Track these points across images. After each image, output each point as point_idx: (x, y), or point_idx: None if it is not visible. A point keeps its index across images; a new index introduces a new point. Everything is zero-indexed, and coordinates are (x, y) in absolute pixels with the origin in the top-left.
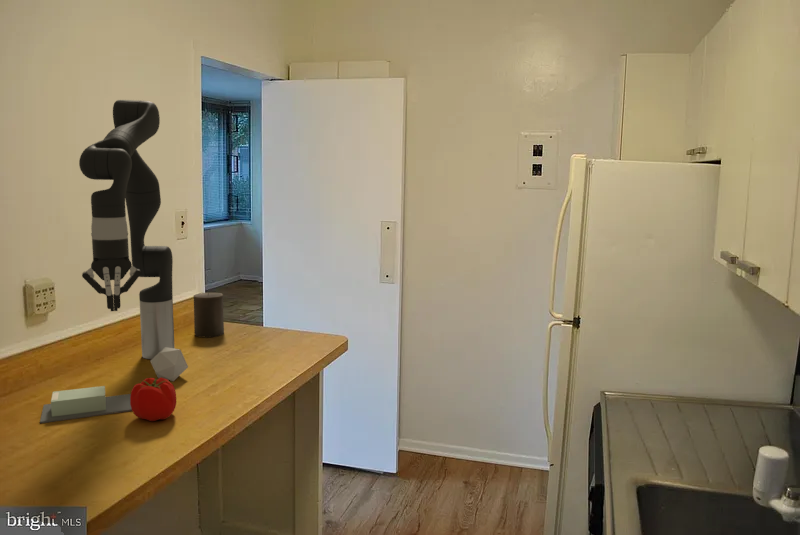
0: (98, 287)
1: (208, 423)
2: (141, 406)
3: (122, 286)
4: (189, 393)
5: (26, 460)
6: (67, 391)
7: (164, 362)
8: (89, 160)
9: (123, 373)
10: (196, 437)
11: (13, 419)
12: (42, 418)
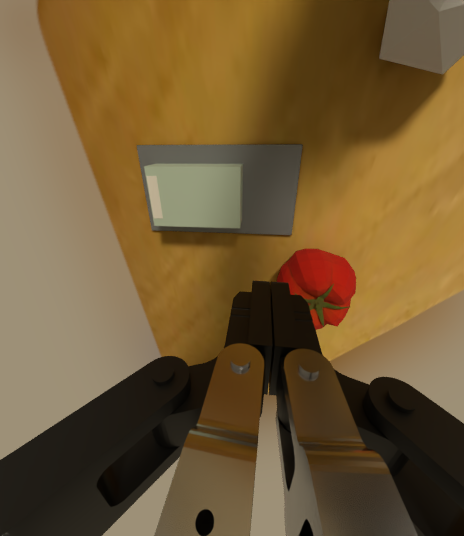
0: (151, 465)
1: (366, 319)
2: None
3: (374, 436)
4: (403, 182)
5: (165, 325)
6: (171, 176)
7: (422, 50)
8: None
9: None
10: (336, 346)
11: (109, 194)
12: (152, 218)
